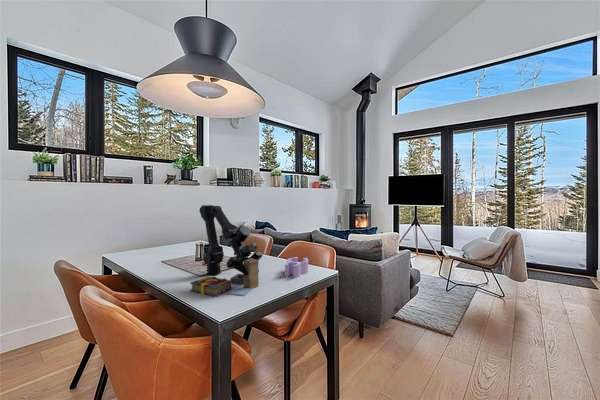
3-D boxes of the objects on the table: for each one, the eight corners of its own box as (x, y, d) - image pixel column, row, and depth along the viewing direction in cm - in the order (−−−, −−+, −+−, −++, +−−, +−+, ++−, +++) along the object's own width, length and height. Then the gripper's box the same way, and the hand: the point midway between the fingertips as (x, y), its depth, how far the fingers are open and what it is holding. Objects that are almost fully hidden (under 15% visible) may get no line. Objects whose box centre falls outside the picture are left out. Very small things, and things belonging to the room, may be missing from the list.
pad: (228, 294, 122) (228, 292, 122) (237, 288, 129) (237, 287, 129) (244, 295, 120) (244, 294, 119) (252, 289, 127) (252, 288, 127)
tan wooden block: (243, 287, 131) (243, 260, 131) (251, 284, 135) (251, 258, 135) (250, 289, 128) (250, 261, 128) (258, 286, 132) (258, 260, 131)
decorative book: (208, 284, 135) (208, 274, 135) (234, 290, 128) (234, 279, 128) (190, 292, 125) (190, 281, 125) (216, 298, 118) (216, 286, 117)
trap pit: (230, 282, 137) (230, 278, 137) (238, 278, 145) (238, 273, 145) (244, 284, 135) (244, 279, 135) (252, 279, 143) (252, 274, 143)
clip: (301, 279, 145) (301, 266, 144) (279, 276, 148) (279, 264, 148) (311, 269, 164) (311, 258, 163) (291, 267, 167) (291, 256, 167)
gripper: (229, 240, 127) (244, 268, 120) (260, 235, 141) (275, 260, 134) (220, 254, 132) (233, 282, 125) (250, 249, 146) (264, 273, 139)
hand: (252, 273), depth 130 cm, fingers open, 6 cm apart
